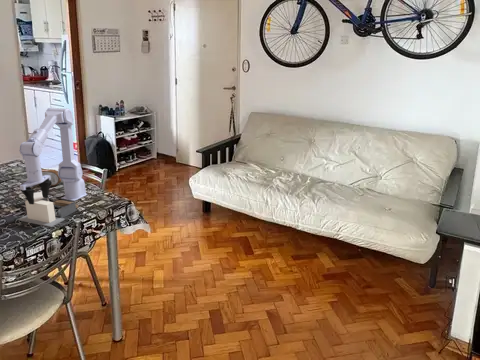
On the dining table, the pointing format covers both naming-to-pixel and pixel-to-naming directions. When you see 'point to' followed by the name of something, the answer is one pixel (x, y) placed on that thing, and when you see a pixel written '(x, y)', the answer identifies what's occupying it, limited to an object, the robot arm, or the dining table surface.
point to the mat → (42, 221)
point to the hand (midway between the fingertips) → (38, 200)
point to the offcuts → (63, 203)
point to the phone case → (39, 195)
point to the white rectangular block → (40, 210)
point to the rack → (63, 209)
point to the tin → (52, 176)
